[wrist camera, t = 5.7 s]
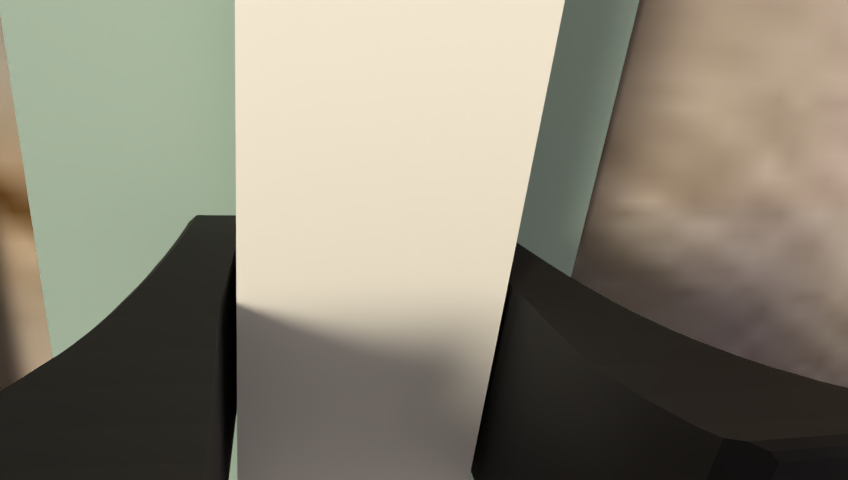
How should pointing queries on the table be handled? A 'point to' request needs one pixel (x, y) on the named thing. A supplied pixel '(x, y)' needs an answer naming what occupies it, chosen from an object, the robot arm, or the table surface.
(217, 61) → the mat
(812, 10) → the table surface
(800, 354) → the table surface
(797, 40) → the table surface
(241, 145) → the rail
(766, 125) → the table surface
